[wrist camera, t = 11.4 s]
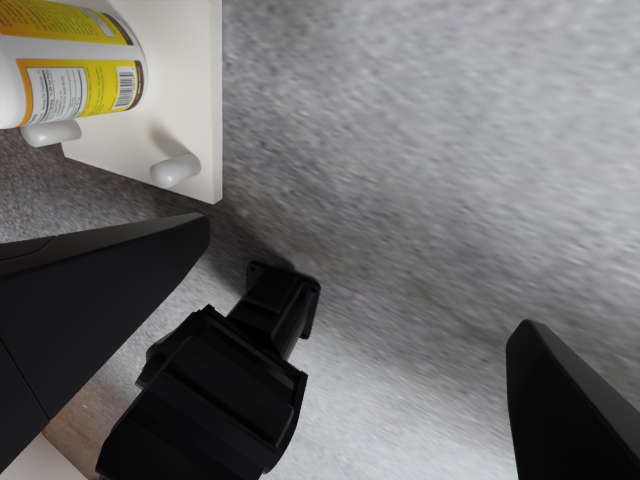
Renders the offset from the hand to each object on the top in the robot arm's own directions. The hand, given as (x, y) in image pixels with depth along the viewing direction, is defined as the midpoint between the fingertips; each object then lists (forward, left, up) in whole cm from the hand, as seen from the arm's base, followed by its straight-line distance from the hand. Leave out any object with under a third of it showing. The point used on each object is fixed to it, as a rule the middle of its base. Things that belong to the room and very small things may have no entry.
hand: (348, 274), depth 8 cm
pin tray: (+2, +19, -12) cm, 22 cm away
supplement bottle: (+2, +19, -11) cm, 22 cm away
